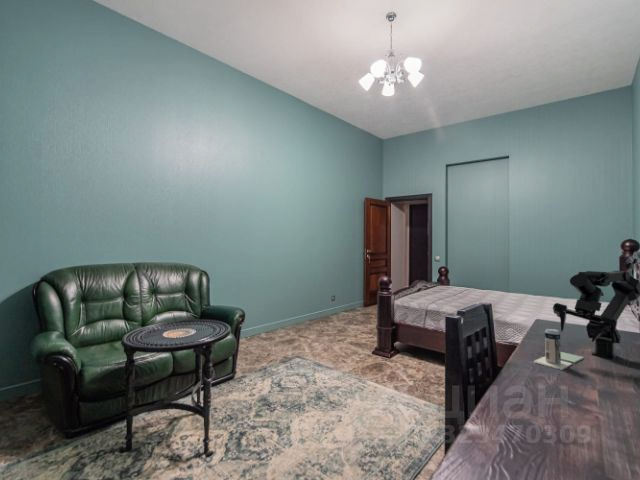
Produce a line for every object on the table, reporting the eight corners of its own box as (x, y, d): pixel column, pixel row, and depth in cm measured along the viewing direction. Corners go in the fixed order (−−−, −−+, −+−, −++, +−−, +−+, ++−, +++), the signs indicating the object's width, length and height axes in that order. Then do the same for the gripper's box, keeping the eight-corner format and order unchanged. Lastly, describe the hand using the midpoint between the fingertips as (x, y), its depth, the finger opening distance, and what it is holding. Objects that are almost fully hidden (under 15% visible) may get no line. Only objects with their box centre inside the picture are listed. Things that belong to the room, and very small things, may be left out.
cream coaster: (544, 357, 125) (544, 356, 125) (572, 364, 117) (572, 363, 117) (533, 362, 120) (533, 361, 120) (562, 370, 112) (561, 368, 112)
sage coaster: (556, 352, 131) (556, 350, 131) (583, 358, 123) (583, 357, 124) (547, 356, 126) (547, 355, 126) (574, 363, 119) (574, 361, 119)
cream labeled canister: (561, 365, 115) (560, 332, 115) (545, 362, 118) (544, 330, 118) (560, 361, 119) (560, 329, 119) (545, 358, 122) (544, 327, 122)
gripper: (558, 284, 124) (545, 319, 120) (622, 299, 111) (610, 339, 107) (560, 295, 131) (548, 329, 128) (621, 311, 118) (609, 349, 114)
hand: (576, 336), depth 119 cm, fingers open, 9 cm apart
